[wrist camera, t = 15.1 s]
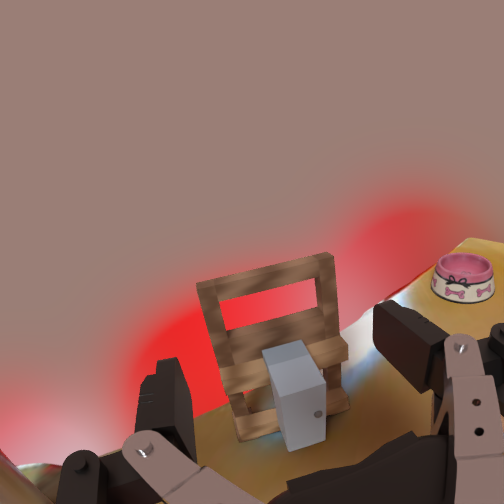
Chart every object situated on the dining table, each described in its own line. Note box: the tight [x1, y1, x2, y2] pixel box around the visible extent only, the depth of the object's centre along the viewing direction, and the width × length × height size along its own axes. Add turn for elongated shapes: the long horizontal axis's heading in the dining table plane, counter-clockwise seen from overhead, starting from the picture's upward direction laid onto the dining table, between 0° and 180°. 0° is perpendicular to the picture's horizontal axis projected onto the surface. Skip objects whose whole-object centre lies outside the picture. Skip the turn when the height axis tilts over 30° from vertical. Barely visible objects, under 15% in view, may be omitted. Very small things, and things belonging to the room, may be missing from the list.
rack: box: [196, 252, 350, 443], centre depth 38 cm, size 17×6×24 cm, turn 101°
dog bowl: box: [431, 253, 495, 304], centre depth 64 cm, size 18×19×7 cm
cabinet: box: [262, 340, 326, 452], centre depth 34 cm, size 5×9×12 cm, turn 11°
